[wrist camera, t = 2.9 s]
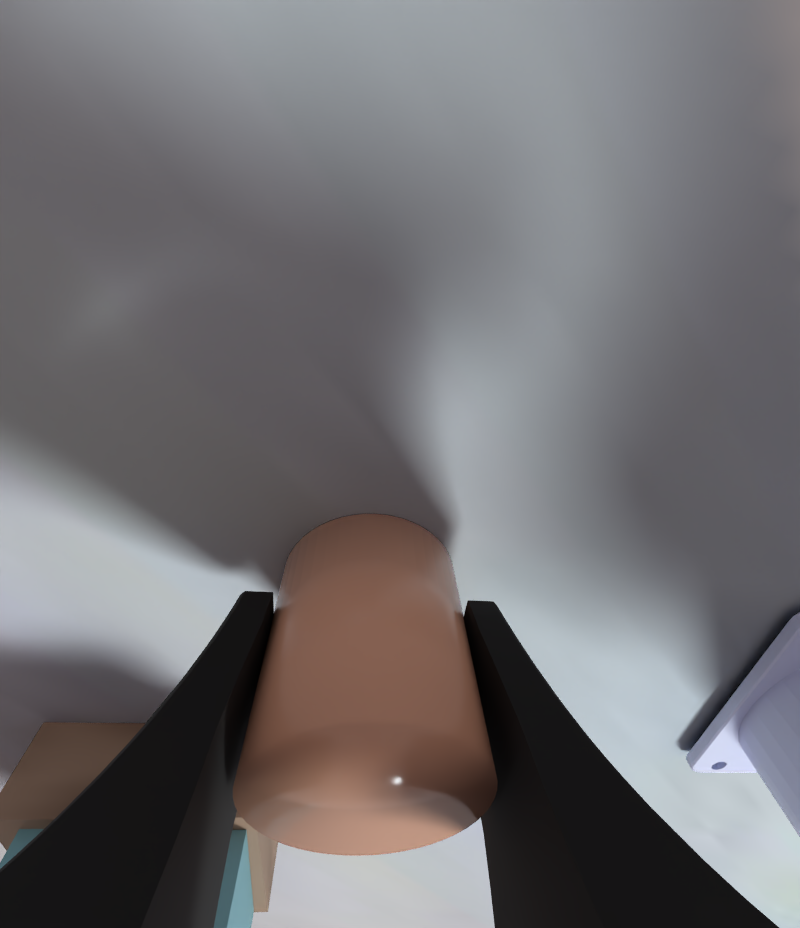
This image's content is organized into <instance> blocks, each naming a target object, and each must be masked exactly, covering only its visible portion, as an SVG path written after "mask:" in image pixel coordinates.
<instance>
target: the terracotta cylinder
mask: <svg viewBox="0 0 800 928" xmlns="http://www.w3.org/2000/svg"><path fill="white" fill-rule="evenodd" d="M497 784H498V780H497V776H496V771H495V766H494V761H493V756H492V752H491V747H490V742H489V737H488V732H487V728H486V723H485V718H484V713H483V708H482V703H481V699H480V694H479V689H478V684H477V679H476V675H475V670H474V665H473V660H472V655H471V651H470V646H469V641H468V636H467V631H466V627H465V622H464V617H463V612H462V607H461V603H460V598H459V593H458V588H457V583H456V579H455V574H454V569H453V564H452V561H451V558H450V556H449V553H448V552H447V550H446V549H445V547H444V546H443V544H442V543H441V542H440V541H439V540H438V539H437V538H436V537H435V536H434V535H433V534H432V533H430V532H429V531H427V530H426V529H424V528H423V527H421V526H419V525H417V524H415V523H413V522H411V521H408V520H405V519H402V518H399V517H394V516H390V515H382V514H358V515H350V516H346V517H341V518H338V519H335V520H332V521H329V522H327V523H324V524H322V525H320V526H318V527H317V528H315V529H313V530H312V531H310V532H309V533H308V534H306V535H305V536H304V537H303V538H302V539H301V540H300V541H299V542H298V543H297V544H296V545H295V547H294V548H293V550H292V551H291V553H290V554H289V557H288V559H287V561H286V565H285V568H284V573H283V577H282V581H281V585H280V590H279V594H278V598H277V602H276V607H275V611H274V615H273V620H272V624H271V628H270V632H269V637H268V641H267V645H266V649H265V654H264V658H263V662H262V666H261V671H260V675H259V679H258V683H257V688H256V692H255V696H254V700H253V705H252V709H251V713H250V717H249V722H248V726H247V730H246V735H245V739H244V743H243V747H242V752H241V756H240V760H239V764H238V769H237V773H236V777H235V781H234V786H233V801H234V804H235V807H236V809H237V811H238V813H239V814H240V816H241V817H242V818H243V819H244V820H245V822H246V823H248V824H249V825H250V826H251V827H252V828H254V829H255V830H256V831H258V832H260V833H261V834H263V835H264V836H266V837H268V838H270V839H273V840H275V841H277V842H280V843H282V844H285V845H288V846H291V847H295V848H298V849H302V850H307V851H312V852H318V853H325V854H335V855H378V854H388V853H395V852H401V851H406V850H411V849H416V848H420V847H423V846H427V845H430V844H433V843H436V842H439V841H441V840H444V839H446V838H448V837H451V836H453V835H455V834H457V833H459V832H461V831H462V830H464V829H466V828H467V827H469V826H470V825H472V824H473V823H474V822H476V821H477V820H478V819H479V818H480V817H481V816H482V815H484V813H485V812H486V811H487V810H488V809H489V807H490V806H491V804H492V802H493V801H494V799H495V796H496V792H497Z"/></svg>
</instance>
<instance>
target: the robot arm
mask: <svg viewBox="0 0 800 928" xmlns="http://www.w3.org/2000/svg"><path fill="white" fill-rule="evenodd" d="M273 615H274V608H273V592H253V591H245V592H243V593H242V594H241V595H240V596H239V598H238V599H237V601H236V603H235V604H234V606H233V608H232V609H231V611H230V612H229V614H228V616H227V617H226V619H225V620H224V622H223V623H222V625H221V626H220V628H219V629H218V631H217V632H216V634H215V635H214V636H213V638H212V639H211V641H210V642H209V644H208V645H207V646H206V648H205V649H204V650H203V652H202V653H201V654H200V656H199V657H198V659H197V660H196V661H195V663H194V664H193V665H192V667H191V668H190V669H189V671H188V672H187V673H186V675H185V676H184V677H183V679H182V680H181V681H180V682H179V684H178V685H177V686H176V687H175V689H174V690H173V691H172V692H171V693H170V695H169V696H168V697H167V698H166V699H165V701H164V702H163V703H162V704H161V706H160V707H159V708H158V709H157V710H156V712H155V713H154V714H153V715H152V717H151V718H150V719H149V720H148V721H147V722H146V724H145V725H144V726H143V727H142V728H141V729H140V730H139V732H138V733H137V734H136V735H135V736H134V737H133V738H132V739H131V741H130V742H129V743H128V744H127V745H126V746H125V747H124V748H123V749H122V750H121V751H120V753H119V754H118V755H117V756H116V757H115V758H114V759H113V760H112V761H111V762H110V763H109V764H108V765H107V767H106V768H105V769H104V770H103V771H102V772H101V773H100V774H99V775H98V776H97V777H96V778H95V779H94V780H93V781H92V782H91V783H90V784H89V785H88V786H87V787H86V788H85V789H84V790H83V791H82V792H81V793H80V794H79V795H78V796H77V797H76V798H75V799H74V800H73V801H72V802H71V803H70V804H69V805H68V806H67V807H66V808H65V809H64V810H63V811H62V812H61V813H60V814H59V815H58V816H57V817H56V818H55V819H54V820H53V821H52V822H51V823H50V824H49V825H48V826H47V827H46V828H45V829H43V830H42V831H41V832H40V833H39V834H38V835H37V836H36V837H35V838H34V839H33V840H32V841H31V842H29V843H28V844H27V845H26V846H25V847H24V848H23V849H22V850H21V851H20V852H18V853H17V854H16V855H15V856H14V857H13V858H12V859H11V860H10V861H9V862H7V863H6V864H5V865H4V866H3V867H2V868H1V869H0V928H214V923H215V917H216V912H217V907H218V901H219V896H220V890H221V885H222V880H223V875H224V870H225V864H226V859H227V854H228V849H229V843H230V838H231V834H232V829H233V825H234V821H235V817H236V813H237V809H236V807H235V804H234V801H233V786H234V781H235V777H236V773H237V769H238V764H239V760H240V756H241V752H242V747H243V743H244V739H245V735H246V730H247V726H248V722H249V717H250V713H251V709H252V705H253V700H254V696H255V692H256V688H257V683H258V679H259V675H260V671H261V666H262V662H263V658H264V654H265V649H266V645H267V641H268V637H269V632H270V628H271V624H272V620H273ZM464 622H465V627H466V631H467V636H468V641H469V646H470V651H471V655H472V660H473V665H474V670H475V675H476V679H477V684H478V689H479V694H480V699H481V703H482V708H483V713H484V718H485V723H486V728H487V732H488V737H489V742H490V747H491V752H492V756H493V761H494V766H495V771H496V776H497V780H498V784H497V792H496V796H495V799H494V801H493V802H492V804H491V806H490V807H489V809H488V810H487V811H486V812H485V813H484V815H482V816H481V820H482V826H483V832H484V839H485V847H486V855H487V863H488V871H489V879H490V887H491V896H492V905H493V914H494V923H495V928H779V927H778V926H777V925H775V924H774V923H773V922H772V921H771V920H770V919H768V918H767V917H766V916H765V915H764V914H763V913H761V912H760V911H759V910H758V909H757V908H755V907H754V906H753V905H752V904H751V903H750V902H749V901H747V900H746V899H745V898H744V897H743V896H742V895H741V894H740V893H739V892H738V891H736V890H735V889H734V888H733V887H732V886H731V885H730V884H729V883H728V882H727V881H726V880H725V879H723V878H722V877H721V876H720V875H719V874H718V873H717V872H716V871H715V870H714V869H713V868H712V867H711V866H709V865H708V864H707V863H706V862H705V861H704V860H703V859H702V858H701V857H700V856H699V855H698V854H697V853H696V852H695V851H694V850H693V849H692V848H691V847H690V846H689V845H688V844H687V843H686V842H685V841H684V840H683V839H682V838H681V837H680V836H679V835H678V834H677V833H676V832H675V831H674V830H673V829H672V828H671V827H670V826H669V825H668V824H667V823H666V822H665V821H664V820H663V819H662V818H661V817H660V816H659V815H658V814H657V813H656V812H655V811H654V810H653V809H652V808H651V807H650V806H649V805H648V804H647V803H646V802H645V801H644V800H643V798H642V797H641V796H640V795H639V794H638V793H637V792H636V791H635V790H634V789H633V788H632V786H631V785H630V784H629V783H628V782H627V781H626V780H625V779H624V778H623V777H622V776H621V774H620V773H619V772H618V771H617V770H616V769H615V768H614V766H613V765H612V764H611V763H610V762H609V761H608V760H607V758H606V757H605V756H604V755H603V754H602V753H601V751H600V750H599V749H598V748H597V747H596V745H595V744H594V743H593V742H592V741H591V739H590V738H589V737H588V736H587V734H586V733H585V732H584V731H583V729H582V728H581V727H580V726H579V724H578V723H577V722H576V720H575V719H574V718H573V717H572V715H571V714H570V713H569V711H568V710H567V709H566V708H565V706H564V705H563V703H562V702H561V701H560V699H559V698H558V697H557V695H556V694H555V693H554V691H553V690H552V688H551V687H550V686H549V684H548V683H547V681H546V680H545V679H544V677H543V676H542V674H541V673H540V671H539V670H538V669H537V667H536V666H535V664H534V663H533V661H532V660H531V658H530V657H529V655H528V654H527V652H526V651H525V649H524V648H523V646H522V645H521V643H520V642H519V640H518V639H517V637H516V636H515V634H514V632H513V631H512V629H511V628H510V626H509V624H508V623H507V621H506V620H505V618H504V616H503V615H502V613H501V612H500V610H499V608H498V607H497V605H496V604H495V603H494V602H490V601H468V602H467V606H466V610H465V614H464ZM686 760H687V762H688V764H689V765H690V767H691V769H692V770H694V771H696V772H717V773H758V774H759V775H760V777H761V778H762V780H763V781H764V783H765V785H766V786H767V788H768V789H769V791H770V792H771V794H772V795H773V797H774V798H775V800H776V801H777V803H778V804H779V806H780V807H781V809H782V810H783V812H784V814H785V815H786V817H787V818H788V820H789V821H790V823H791V824H792V826H793V827H794V829H795V830H796V832H797V833H798V835H799V836H800V612H799V613H797V614H796V615H794V616H793V617H792V618H791V619H790V620H789V621H788V623H787V624H786V625H785V627H784V628H783V629H782V630H781V632H780V633H779V634H778V636H777V637H776V638H775V640H774V641H773V642H772V644H771V645H770V646H769V648H768V649H767V650H766V652H765V653H764V654H763V655H762V657H761V658H760V659H759V661H758V662H757V663H756V665H755V666H754V667H753V669H752V670H751V671H750V673H749V674H748V675H747V676H746V678H745V679H744V680H743V682H742V683H741V684H740V686H739V687H738V688H737V690H736V691H735V692H734V694H733V695H732V696H731V697H730V699H729V700H728V701H727V703H726V704H725V705H724V707H723V708H722V709H721V711H720V712H719V713H718V715H717V716H716V717H715V719H714V720H713V721H712V722H711V724H710V725H709V726H708V728H707V729H706V730H705V732H704V733H703V734H702V736H701V737H700V738H699V740H698V741H697V742H696V743H695V745H694V746H693V747H692V749H691V750H690V751H689V753H688V754H687V757H686Z"/></svg>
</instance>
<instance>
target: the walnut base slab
mask: <svg viewBox="0 0 800 928" xmlns="http://www.w3.org/2000/svg"><path fill="white" fill-rule="evenodd" d="M145 724H146V723H57V722H44V723H43V724H42V726H41V727H40V729H39V731H38V732H37V734H36V736H35V737H34V739H33V740H32V742H31V744H30V745H29V747H28V749H27V750H26V752H25V753H24V755H23V757H22V758H21V760H20V762H19V763H18V765H17V766H16V768H15V770H14V771H13V773H12V775H11V776H10V778H9V779H8V781H7V783H6V784H5V786H4V788H3V789H2V791H1V792H0V842H1V844H2V845H3V846H4V848H5V849H6V850H8V848H9V846H10V845H11V843H12V841H13V839H14V837H15V836H16V834H17V832H18V830H19V829H45V828H46V827H47V826H48V825H49V824H50V823H51V822H52V821H53V820H54V819H55V818H56V817H57V816H58V815H59V814H60V813H61V812H62V811H63V810H64V809H65V808H66V807H67V806H68V805H69V804H70V803H71V802H72V801H73V800H74V799H75V798H76V797H77V796H78V795H79V794H80V793H81V792H82V791H83V790H84V789H85V788H86V787H87V786H88V785H89V784H90V783H91V782H92V781H93V780H94V779H95V778H96V777H97V776H98V775H99V774H100V773H101V772H102V771H103V770H104V769H105V768H106V767H107V765H108V764H109V763H110V762H111V761H112V760H113V759H114V758H115V757H116V756H117V755H118V754H119V753H120V751H121V750H122V749H123V748H124V747H125V746H126V745H127V744H128V743H129V742H130V741H131V739H132V738H133V737H134V736H135V735H136V734H137V733H138V732H139V730H140V729H141V728H142V727H143V726H144V725H145ZM232 830H247V840H248V851H249V862H250V873H251V884H252V895H253V906H254V912H268V906H269V900H270V893H271V886H272V879H273V872H274V866H275V859H276V852H277V845H278V842H277V841H275V840H273V839H270V838H268V837H266V836H264V835H263V834H261V833H260V832H258V831H256V830H255V829H254V828H252V827H251V826H250V825H249V824H248V823H246V822H245V820H244V819H243V818H242V817H241V816H240V814H239V813H238V811H237V813H236V817H235V821H234V825H233V829H232Z"/></svg>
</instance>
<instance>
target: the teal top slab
mask: <svg viewBox="0 0 800 928" xmlns="http://www.w3.org/2000/svg"><path fill="white" fill-rule="evenodd" d="M42 830H43V829H19V830H18V832H17V834H16V836H15V837H14V839H13V841H12V843H11V845H10V846H9V848H8V850H7V852H6V854H5V855H4V857H3V859H2V861H1V863H0V869H1V868H2V867H3V866H4V865H5V864H6V863H7V862H9V861H10V860H11V859H12V858H13V857H14V856H15V855H16V854H17V853H18V852H20V851H21V850H22V849H23V848H24V847H25V846H26V845H27V844H28V843H29V842H31V841H32V840H33V839H34V838H35V837H36V836H37V835H38V834H39V833H40V832H41V831H42ZM253 912H254V906H253V895H252V884H251V873H250V862H249V851H248V840H247V830H232V834H231V838H230V843H229V849H228V854H227V859H226V864H225V870H224V875H223V880H222V885H221V890H220V896H219V901H218V907H217V912H216V917H215V923H214V928H251V924H252V918H253Z"/></svg>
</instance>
